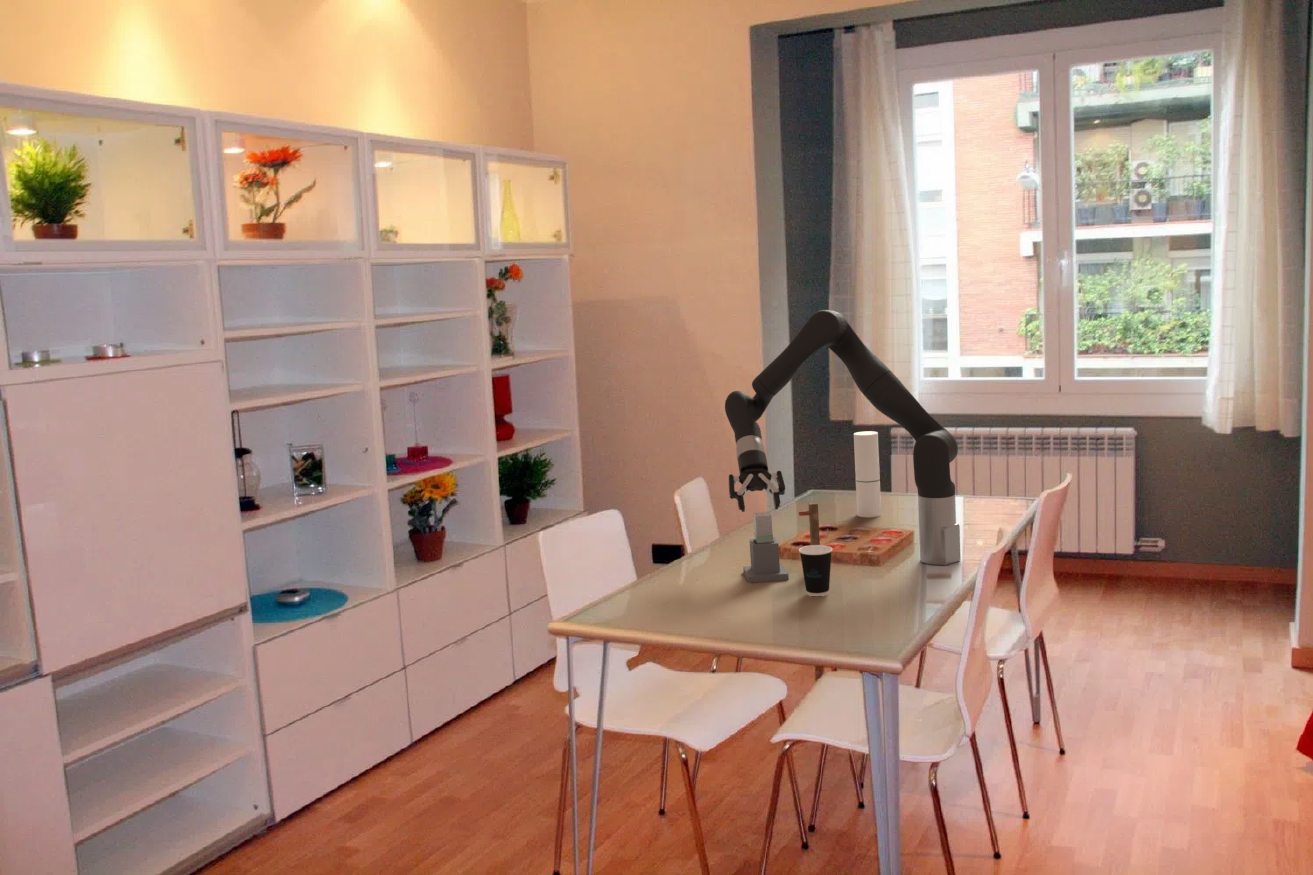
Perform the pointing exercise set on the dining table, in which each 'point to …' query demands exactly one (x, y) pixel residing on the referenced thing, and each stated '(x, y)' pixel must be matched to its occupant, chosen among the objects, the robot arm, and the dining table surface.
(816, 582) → the dixie cup
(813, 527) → the height gauge
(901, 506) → the dining table surface
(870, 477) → the cylindrical container
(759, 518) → the steel column
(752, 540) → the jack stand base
